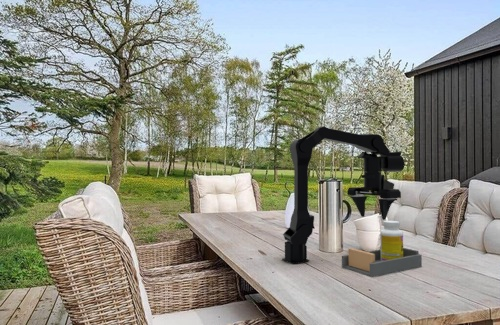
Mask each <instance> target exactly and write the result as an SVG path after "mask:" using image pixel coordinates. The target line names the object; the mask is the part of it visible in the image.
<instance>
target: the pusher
mask: <svg viewBox="0 0 500 325" xmlns="http://www.w3.org/2000/svg"><path fill="white" fill-rule="evenodd" d="M347 253H348V254H347V255H348V257H349V266H352V267H356V268H359V269H362V270H366V271H369V272H370V263H374V262H375V254H373V253H369V252H367V251H364V250H360V249H356V248H352V247H350V248H348V252H347Z"/></svg>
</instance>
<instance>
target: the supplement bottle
mask: <svg viewBox="0 0 500 325" xmlns="http://www.w3.org/2000/svg"><path fill="white" fill-rule="evenodd" d="M382 222H383V228H382V229H381V230H380V233H379V234H380V237H379V238H380V239H379V240H380V245H379V246H380V252H381V261H385V260H390V259H396V258H401V257H403V248H404V233H403V231H402V230H401V229H400V221H397V220H383V221H382Z"/></svg>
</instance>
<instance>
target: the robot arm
mask: <svg viewBox="0 0 500 325" xmlns="http://www.w3.org/2000/svg"><path fill="white" fill-rule="evenodd" d="M323 140H324V141H329V142H335V143H338V144H343V145H349V146H353V147H355V148H357V149H358V150H360V151H362V152H361V153H360V154H359V155H358V156H357V159H363V174H361V175H360V177H361V179H363V186H351V187H348V189H347V196H349V198H350V199H352V201H353V203H354V205H355V206H356V208H357V210H358V213H359V215H360V217H362V218H363V217H365V216H366V215H365V214H366V201H367V198H368V197H369V196H378V197H380V198H379V199H378V204H379V209H380V216H381V219H382V220H383V221H386V220H387V219H386V218H387V216H388V213H389V211H390V208H391V206H392V204H393V203H394V202H395V201H398V199H401V198H402V192H401V190H400V189H399V188H395V183H394V182H391V181H390V180H387V179H386V178H385V177H386V176H385V174H382V171H383V172H385V173H388V172H389V173H390V172H393V173H394V172H399V173H400V172H402V171H403V170H404V168H405V164H406V163H405V159H404V157H403V156H402V152H401V151H393V152H392V151H391V150H390V149H389V148H388V146H387V145H386V143H385V141H384V139H383V137H382V135H380V134H377V133H376V134H375V133H374V134H373V133H368V134H367V133H366V134H365V133H364V134H360V133H359V134H358V133H353V132H349V131H344V130H339V129H334V128H330V127H326V126H319V127H316V128H315V129H314V130H313V131H311V132H310V133H308V134H306V135H305V136H303V137H302V138H296V139H295V140H293V141H291V143H290V145H289V152H290V158H291V161H292V164H293V167H294V171H293V176H294V178H293V179H294V182H293V184H294V188H293V193H294V194H293V197H294V200H293V201H294V202H293V206H294V207H293V211H292V214H291V217H290V223H289V227H288V228H287V229H286V230H285V231H284V233H283V238H284V240H285V242H284V257H283V258H281V260H282V261H284V262H287V263H290V264H293V265H294V264H301V263H306V262H307V263H308V262H310V259H307V258H308V252H307V251H308V250H307V249H308V247H307V243H308V240H309V237H310V236H311V235H313V230H315V224H314V222H315V215H313V214H310V213H309V164H310V162H311V160H312V153H313V149H314V148H315V147H317V146H318V145H319V144H320V143H321V142H322V141H323Z"/></svg>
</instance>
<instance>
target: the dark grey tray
mask: <svg viewBox="0 0 500 325" xmlns="http://www.w3.org/2000/svg"><path fill="white" fill-rule="evenodd" d="M366 252H369V253H373V254H375V262H374V263H370V272H369V271H366V270H362V269H359V268H356V267H352V266H349V257H348V254H343V255H341V269H345V270H348V271H351V272H355V273H358V274H361V275H364V276H367V277H371V278H374V277H375V278H376V277H380V276H385V275H389V274H394V273H399V272H402V271H403V272H404V271H407V270H409V271H410V270H412V269H417V268H421V267H423V266H422V264H423V263H422V262H423V261H422V260H423V259H422V254H421V253H420V254H419V250H417V249H413V248H407V247H403V257H401V258H396V259H390V260H385V261H381V252H380V249H375V250H370V251H369V250H368V251H366Z"/></svg>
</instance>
